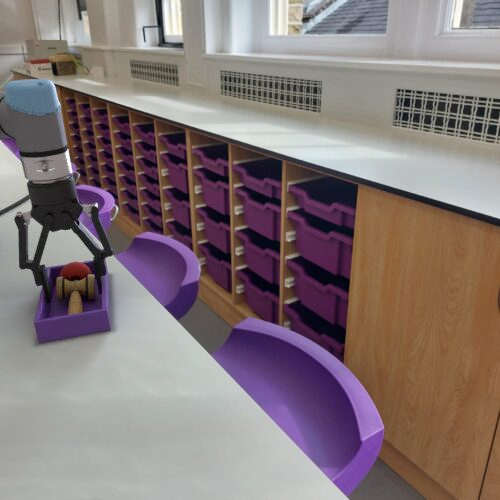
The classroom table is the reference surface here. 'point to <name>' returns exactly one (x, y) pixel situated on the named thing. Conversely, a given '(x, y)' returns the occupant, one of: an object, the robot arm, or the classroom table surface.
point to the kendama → (75, 285)
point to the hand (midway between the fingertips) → (75, 294)
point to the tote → (66, 326)
